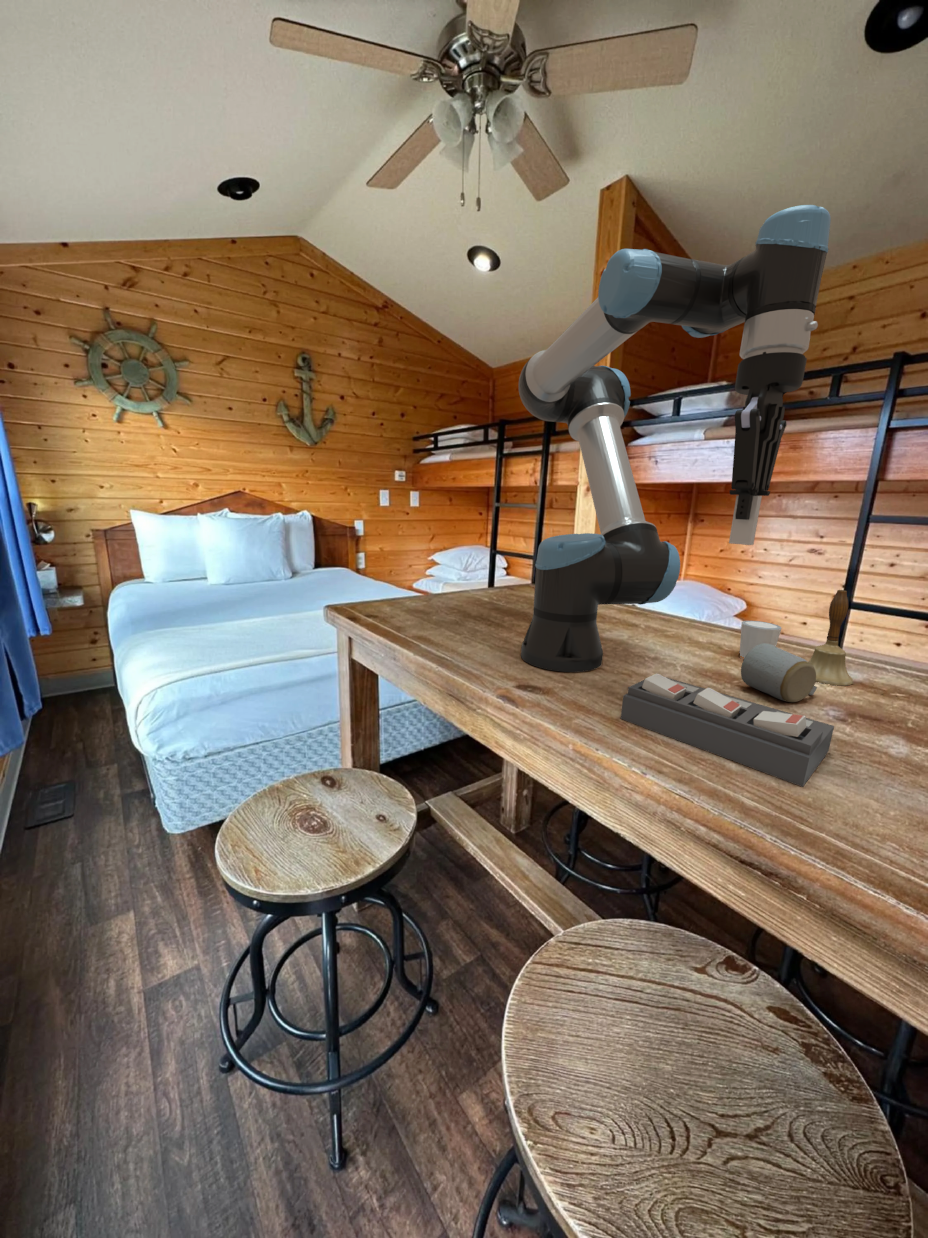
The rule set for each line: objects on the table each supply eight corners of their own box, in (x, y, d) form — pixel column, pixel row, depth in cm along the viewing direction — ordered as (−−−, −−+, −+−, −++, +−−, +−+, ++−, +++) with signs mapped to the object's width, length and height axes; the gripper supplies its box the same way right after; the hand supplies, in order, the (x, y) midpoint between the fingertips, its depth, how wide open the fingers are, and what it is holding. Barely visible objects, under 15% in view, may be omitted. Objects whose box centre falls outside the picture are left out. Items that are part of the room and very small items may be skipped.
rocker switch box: (620, 718, 70) (624, 688, 69) (659, 697, 78) (663, 669, 77) (802, 787, 54) (811, 748, 53) (828, 751, 62) (836, 717, 61)
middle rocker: (693, 702, 64) (697, 693, 63) (704, 695, 66) (709, 686, 65) (726, 722, 61) (732, 712, 60) (737, 714, 63) (742, 704, 63)
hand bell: (834, 688, 84) (855, 596, 80) (786, 672, 92) (804, 587, 88) (863, 682, 88) (885, 593, 84) (815, 667, 95) (833, 585, 91)
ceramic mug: (780, 707, 76) (790, 659, 74) (735, 687, 83) (744, 643, 81) (829, 701, 79) (840, 655, 77) (782, 683, 87) (791, 640, 85)
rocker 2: (754, 730, 59) (753, 718, 59) (763, 722, 61) (763, 710, 61) (797, 736, 56) (797, 723, 55) (806, 727, 58) (805, 714, 58)
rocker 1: (641, 687, 69) (645, 678, 68) (654, 681, 71) (657, 672, 70) (671, 703, 66) (675, 694, 65) (683, 696, 68) (686, 687, 68)
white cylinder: (728, 652, 102) (733, 619, 101) (759, 652, 103) (765, 620, 101) (750, 664, 96) (757, 628, 94) (783, 663, 96) (790, 629, 95)
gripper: (791, 339, 56) (755, 549, 62) (819, 362, 65) (785, 544, 71) (722, 351, 62) (694, 543, 67) (756, 371, 70) (729, 539, 76)
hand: (741, 543), depth 69 cm, fingers closed
